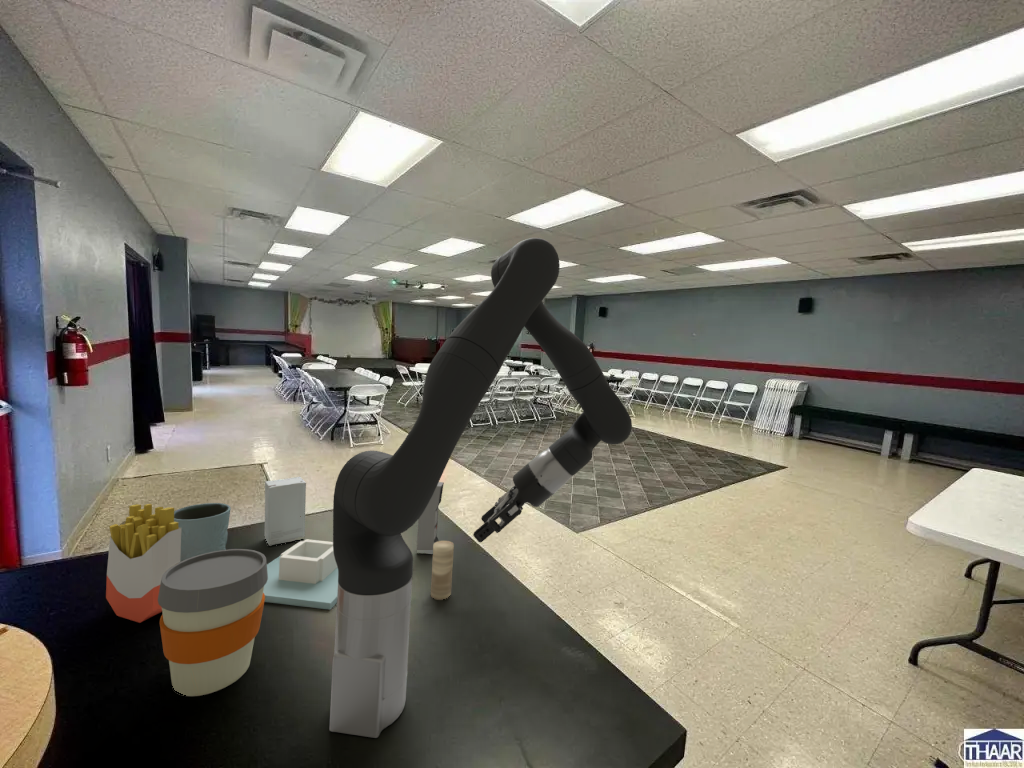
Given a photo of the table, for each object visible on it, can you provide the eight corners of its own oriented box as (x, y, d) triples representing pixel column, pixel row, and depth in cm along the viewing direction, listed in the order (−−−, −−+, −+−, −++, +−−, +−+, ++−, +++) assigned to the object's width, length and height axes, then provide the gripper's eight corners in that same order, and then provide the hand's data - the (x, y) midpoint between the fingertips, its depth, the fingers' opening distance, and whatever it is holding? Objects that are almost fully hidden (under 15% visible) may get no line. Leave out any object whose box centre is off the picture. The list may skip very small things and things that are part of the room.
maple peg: (448, 601, 80) (451, 550, 80) (428, 598, 80) (430, 548, 80) (453, 590, 84) (455, 541, 84) (433, 588, 84) (436, 539, 84)
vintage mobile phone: (437, 555, 99) (443, 451, 98) (416, 554, 99) (422, 450, 98) (440, 548, 103) (445, 448, 102) (419, 547, 103) (425, 447, 102)
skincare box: (299, 532, 107) (302, 475, 107) (305, 540, 102) (308, 481, 102) (262, 539, 102) (264, 479, 101) (266, 548, 97) (269, 485, 97)
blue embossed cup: (239, 558, 91) (241, 505, 91) (201, 581, 81) (203, 521, 81) (197, 554, 92) (199, 500, 92) (153, 576, 82) (156, 516, 82)
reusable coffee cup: (246, 631, 67) (250, 541, 67) (278, 670, 60) (283, 568, 59) (144, 672, 58) (148, 566, 57) (167, 725, 50) (172, 603, 49)
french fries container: (149, 627, 67) (153, 518, 66) (102, 613, 70) (105, 508, 69) (178, 612, 71) (182, 509, 71) (133, 599, 74) (137, 500, 74)
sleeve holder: (330, 609, 75) (331, 578, 75) (227, 597, 77) (228, 567, 76) (376, 560, 95) (378, 535, 95) (294, 551, 97) (295, 527, 96)
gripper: (531, 454, 87) (474, 503, 88) (527, 470, 73) (459, 528, 74) (555, 481, 86) (497, 530, 88) (555, 503, 72) (487, 560, 74)
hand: (480, 529), depth 81 cm, fingers open, 8 cm apart
